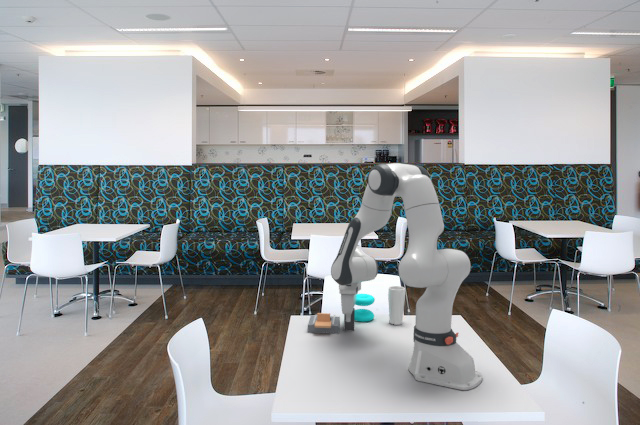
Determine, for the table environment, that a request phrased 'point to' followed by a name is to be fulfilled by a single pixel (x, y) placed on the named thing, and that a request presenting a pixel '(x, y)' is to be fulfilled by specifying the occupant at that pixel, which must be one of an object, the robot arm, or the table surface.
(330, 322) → the block
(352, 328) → the plug
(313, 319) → the socket plate
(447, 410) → the table surface
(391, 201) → the robot arm
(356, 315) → the donuts
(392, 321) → the drinking glass
